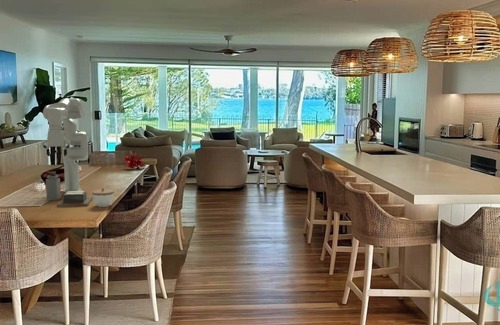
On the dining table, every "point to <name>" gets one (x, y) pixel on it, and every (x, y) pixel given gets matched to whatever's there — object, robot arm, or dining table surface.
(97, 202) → the lidded bowl
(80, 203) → the stand
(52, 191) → the perfume bottle
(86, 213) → the dining table surface
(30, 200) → the dining table surface
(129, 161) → the sculptural form
